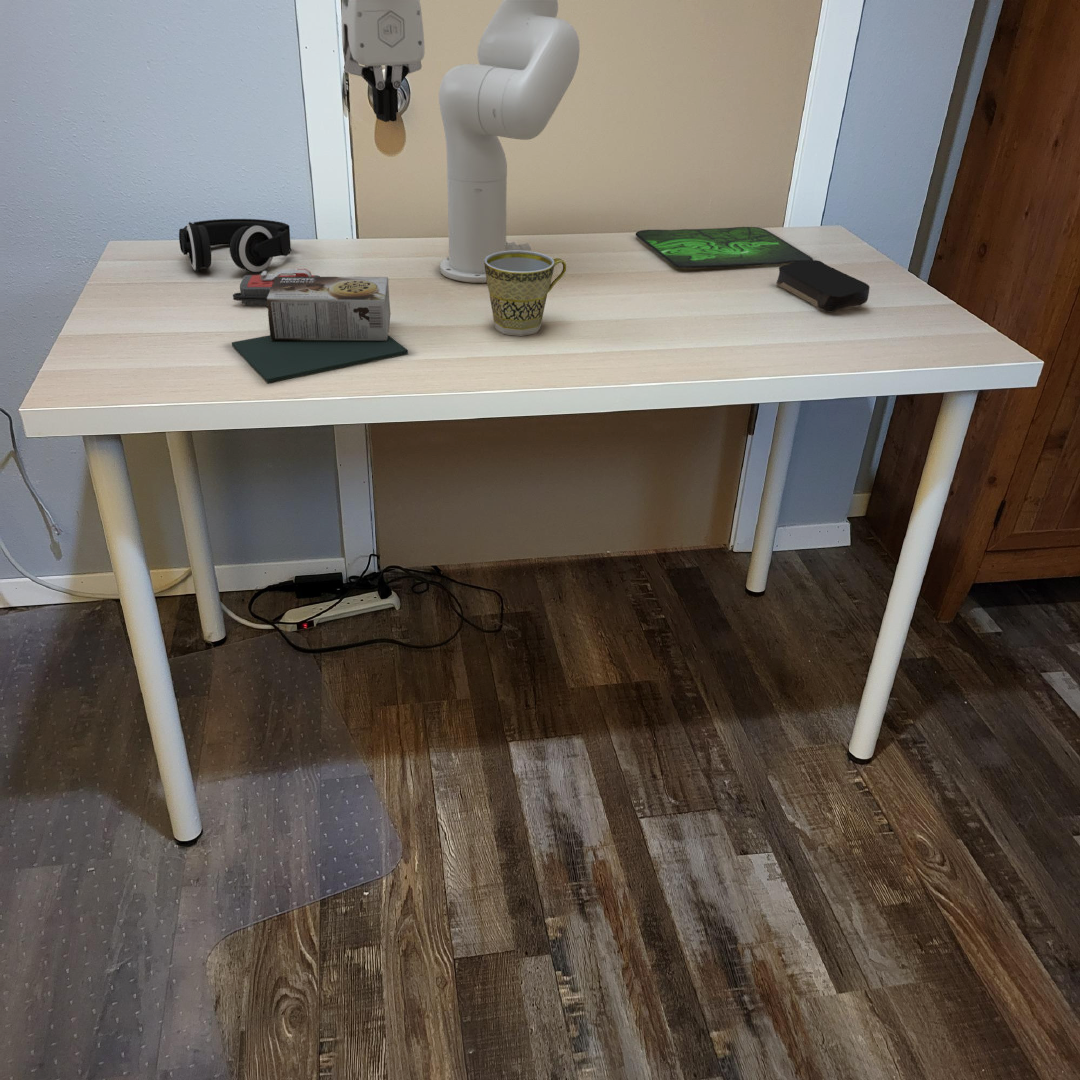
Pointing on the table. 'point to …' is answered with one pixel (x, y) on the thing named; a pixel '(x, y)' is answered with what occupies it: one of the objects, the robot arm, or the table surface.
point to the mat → (311, 355)
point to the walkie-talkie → (263, 286)
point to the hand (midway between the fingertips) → (386, 119)
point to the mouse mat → (721, 247)
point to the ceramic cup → (519, 289)
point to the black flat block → (822, 285)
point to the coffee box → (329, 308)
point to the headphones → (236, 242)
